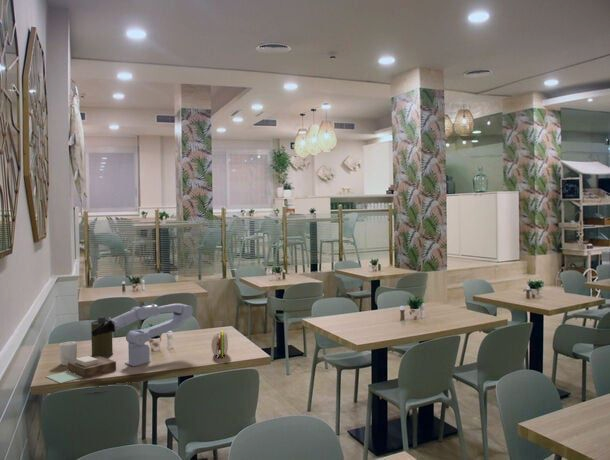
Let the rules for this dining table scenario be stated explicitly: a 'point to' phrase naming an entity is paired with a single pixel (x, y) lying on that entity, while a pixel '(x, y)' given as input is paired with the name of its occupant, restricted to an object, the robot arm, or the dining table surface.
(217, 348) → the hamburger
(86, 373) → the board
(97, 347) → the canister
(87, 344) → the dining table surface
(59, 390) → the dining table surface
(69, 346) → the white cup
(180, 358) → the dining table surface
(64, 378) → the mat
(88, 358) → the card
